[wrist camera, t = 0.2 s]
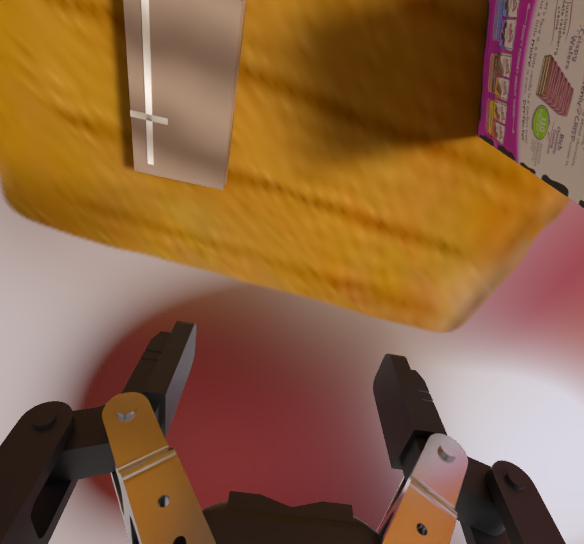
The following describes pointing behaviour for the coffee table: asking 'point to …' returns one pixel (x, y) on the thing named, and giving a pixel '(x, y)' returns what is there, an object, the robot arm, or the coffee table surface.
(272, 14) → the coffee table surface
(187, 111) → the bronze metal plate
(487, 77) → the candy bar box
